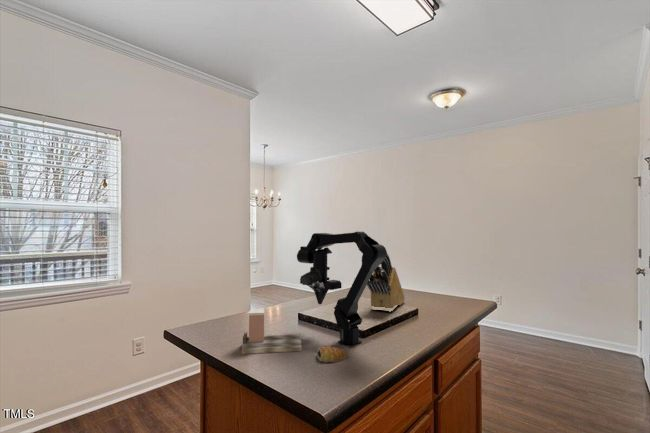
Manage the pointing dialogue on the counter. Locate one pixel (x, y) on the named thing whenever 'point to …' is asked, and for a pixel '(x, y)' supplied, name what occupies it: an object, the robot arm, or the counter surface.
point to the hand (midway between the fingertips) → (319, 304)
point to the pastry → (330, 354)
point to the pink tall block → (256, 325)
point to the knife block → (385, 286)
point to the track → (272, 344)
